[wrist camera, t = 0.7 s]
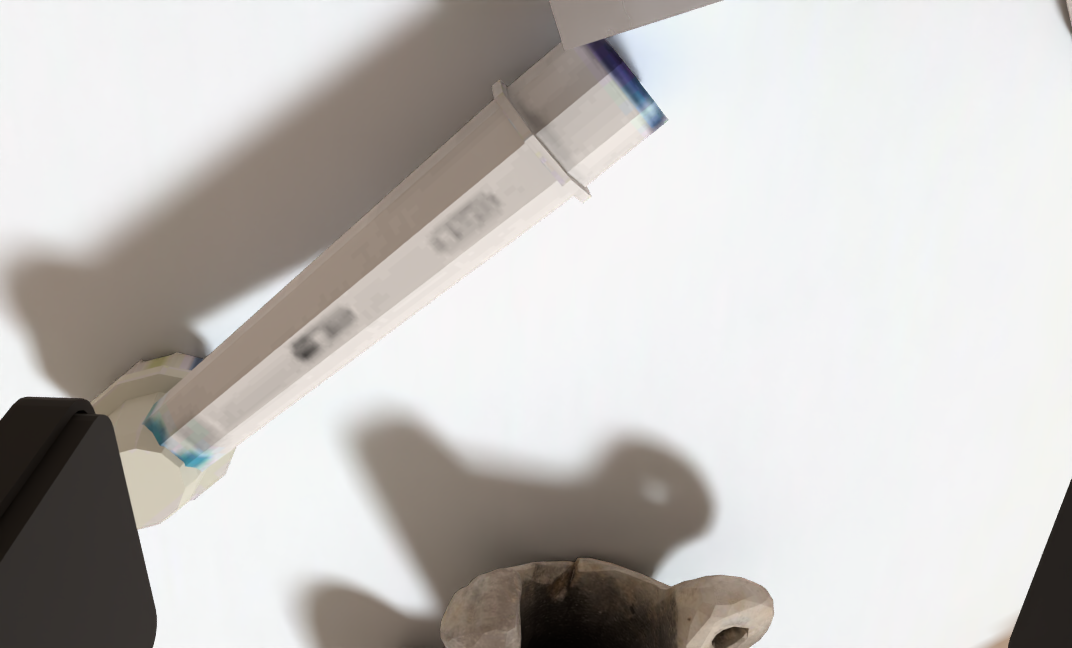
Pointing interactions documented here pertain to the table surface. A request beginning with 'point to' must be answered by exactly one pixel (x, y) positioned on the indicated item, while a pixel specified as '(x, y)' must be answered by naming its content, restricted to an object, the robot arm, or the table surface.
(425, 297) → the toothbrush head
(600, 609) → the grey clay vessel
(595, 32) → the brushed grey cube
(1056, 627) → the robot arm
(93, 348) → the table surface
